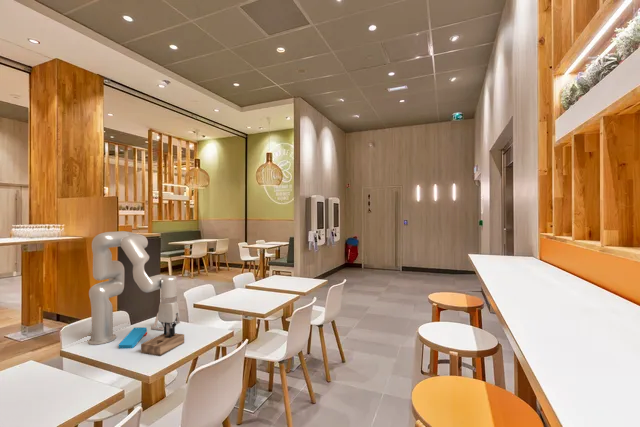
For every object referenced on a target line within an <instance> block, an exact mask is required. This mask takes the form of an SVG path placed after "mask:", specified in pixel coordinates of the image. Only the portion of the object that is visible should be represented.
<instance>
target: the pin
mask: <svg viewBox="0 0 640 427" xmlns="http://www.w3.org/2000/svg"><path fill="white" fill-rule="evenodd" d="M169 328H170V323H166V338H171V337H172V336H169Z"/></svg>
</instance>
